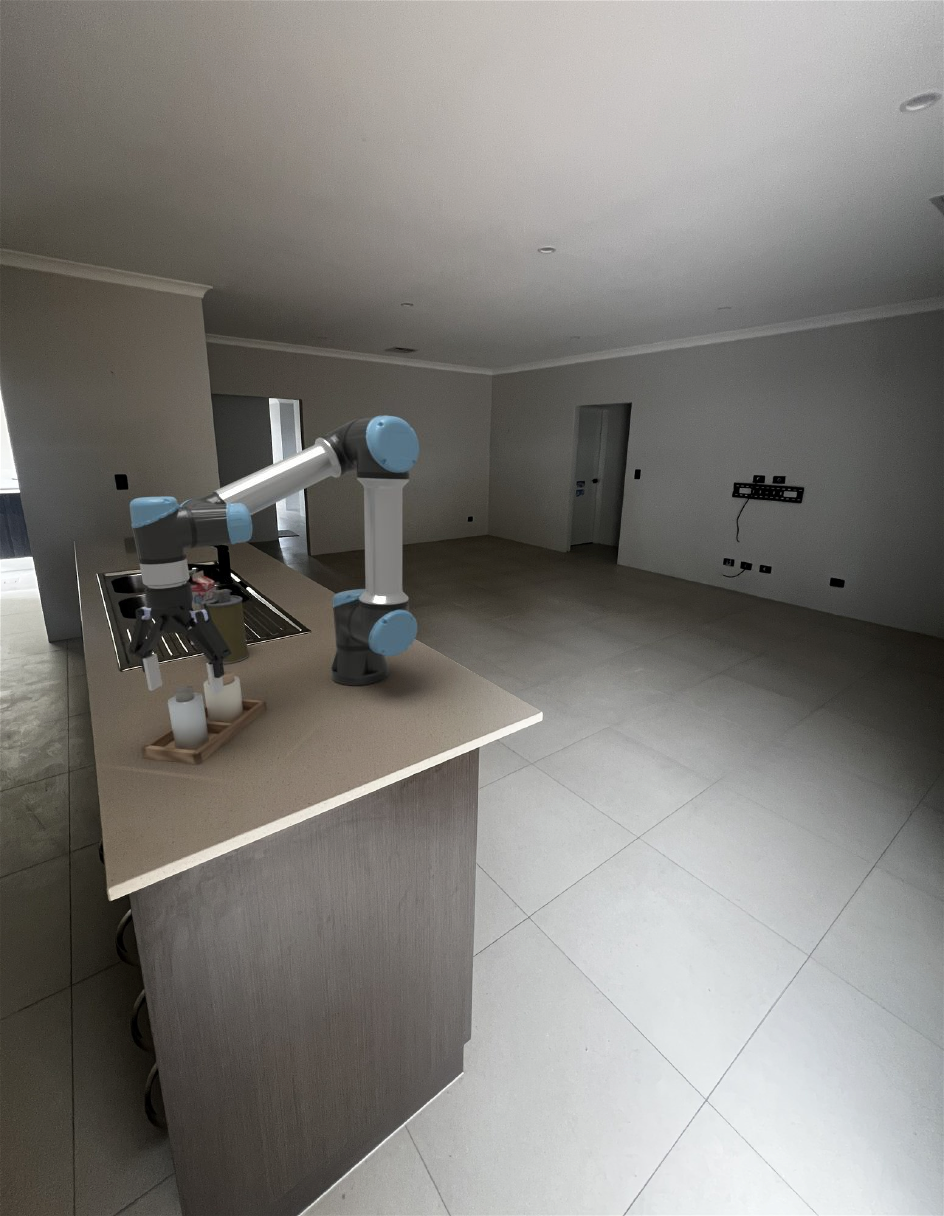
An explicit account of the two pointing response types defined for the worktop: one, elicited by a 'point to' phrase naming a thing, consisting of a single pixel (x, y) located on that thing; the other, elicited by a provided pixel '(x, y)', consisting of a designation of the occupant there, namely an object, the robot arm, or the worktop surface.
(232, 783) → the worktop surface
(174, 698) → the plastic bottle
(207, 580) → the juice carton
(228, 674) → the ceramic jar
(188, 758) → the caddy
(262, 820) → the worktop surface
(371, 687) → the worktop surface
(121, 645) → the worktop surface
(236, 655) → the canister
